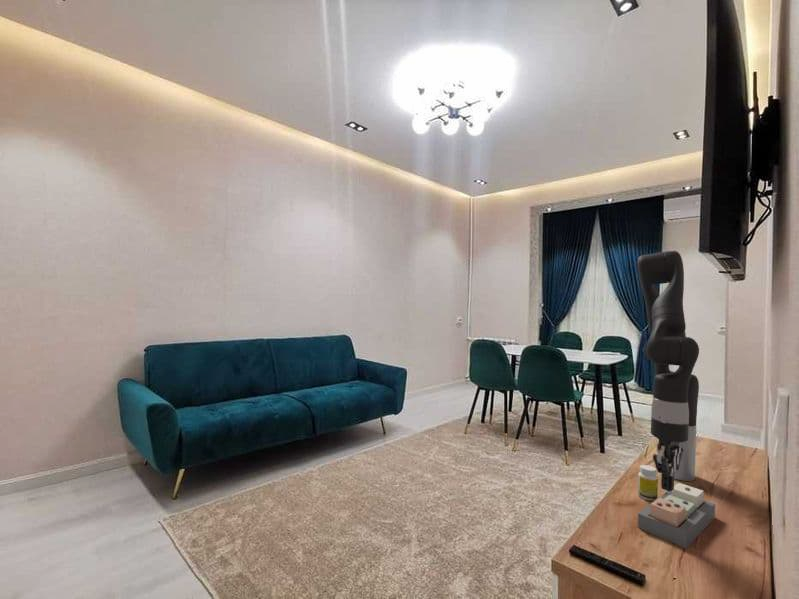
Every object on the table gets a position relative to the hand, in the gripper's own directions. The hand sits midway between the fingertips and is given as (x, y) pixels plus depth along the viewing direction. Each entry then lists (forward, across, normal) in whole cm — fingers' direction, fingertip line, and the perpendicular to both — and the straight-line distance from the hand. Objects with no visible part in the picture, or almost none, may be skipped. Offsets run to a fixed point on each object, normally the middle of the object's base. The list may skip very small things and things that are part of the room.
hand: (667, 489), depth 96 cm
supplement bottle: (+10, -16, -10) cm, 21 cm away
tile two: (+8, -7, 0) cm, 11 cm away
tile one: (+7, -14, 0) cm, 16 cm away
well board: (+10, -7, 0) cm, 13 cm away
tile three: (+7, 0, 0) cm, 7 cm away
